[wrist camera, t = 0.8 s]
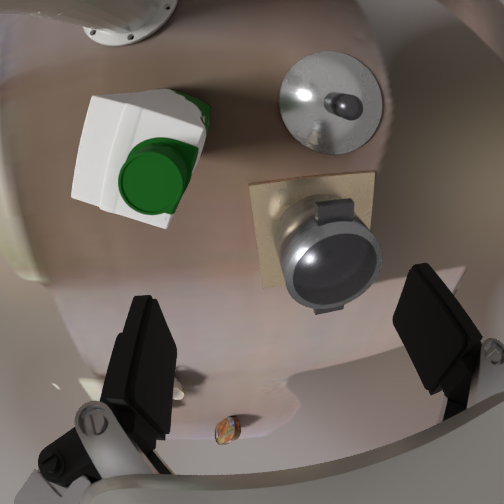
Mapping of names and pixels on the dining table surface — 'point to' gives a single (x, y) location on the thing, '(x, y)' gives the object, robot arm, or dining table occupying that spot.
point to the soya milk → (140, 152)
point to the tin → (227, 430)
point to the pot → (317, 237)
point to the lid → (330, 102)
